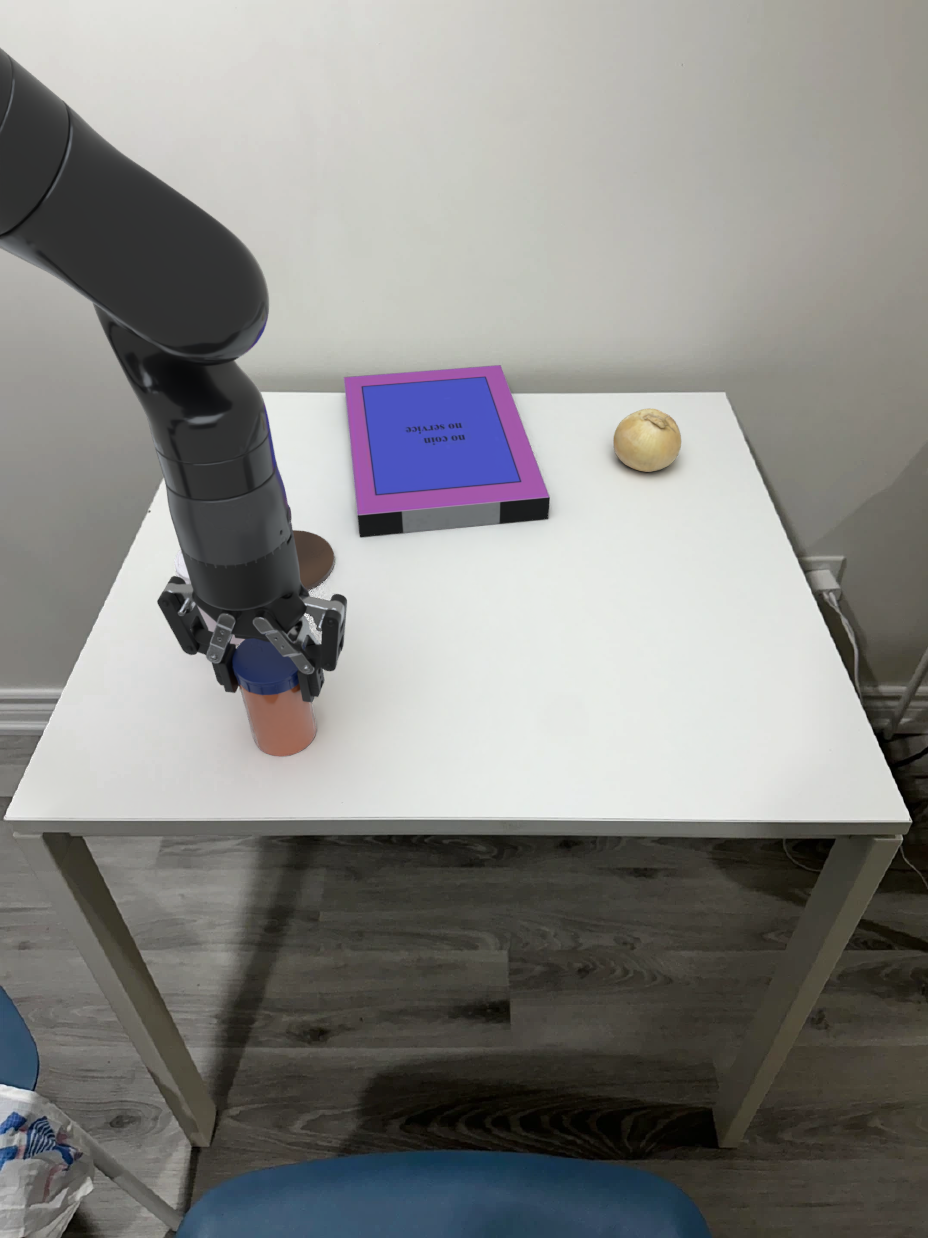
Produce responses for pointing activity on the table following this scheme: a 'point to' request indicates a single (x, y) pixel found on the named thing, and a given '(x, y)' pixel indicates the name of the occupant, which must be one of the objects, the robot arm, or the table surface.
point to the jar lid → (263, 668)
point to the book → (440, 452)
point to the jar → (280, 721)
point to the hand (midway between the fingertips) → (273, 688)
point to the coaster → (313, 558)
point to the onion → (647, 440)
